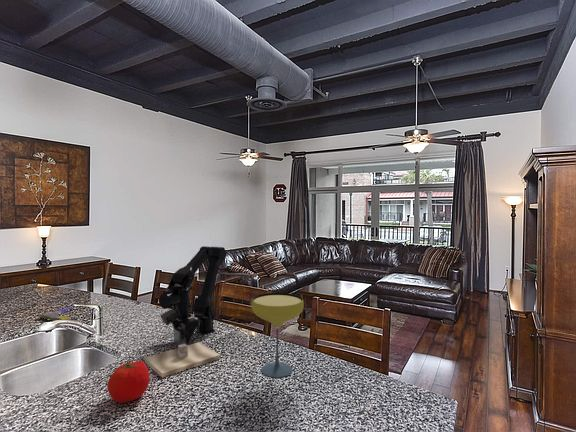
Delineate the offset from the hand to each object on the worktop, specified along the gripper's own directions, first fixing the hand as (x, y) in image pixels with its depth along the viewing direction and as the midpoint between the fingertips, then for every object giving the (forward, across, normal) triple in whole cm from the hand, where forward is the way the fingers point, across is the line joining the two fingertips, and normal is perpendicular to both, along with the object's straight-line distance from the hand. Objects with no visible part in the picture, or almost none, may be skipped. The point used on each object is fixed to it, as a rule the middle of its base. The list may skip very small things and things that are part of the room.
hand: (182, 339), depth 144 cm
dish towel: (+2, -73, -26) cm, 78 cm away
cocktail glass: (+2, +44, +14) cm, 46 cm away
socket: (+2, 0, 0) cm, 2 cm away
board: (+2, +15, -7) cm, 17 cm away
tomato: (+2, +28, -30) cm, 41 cm away
